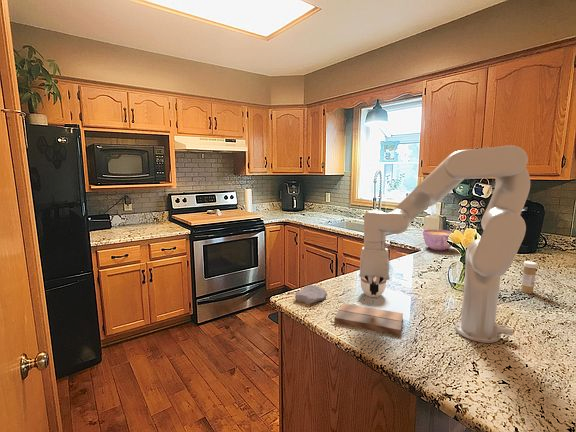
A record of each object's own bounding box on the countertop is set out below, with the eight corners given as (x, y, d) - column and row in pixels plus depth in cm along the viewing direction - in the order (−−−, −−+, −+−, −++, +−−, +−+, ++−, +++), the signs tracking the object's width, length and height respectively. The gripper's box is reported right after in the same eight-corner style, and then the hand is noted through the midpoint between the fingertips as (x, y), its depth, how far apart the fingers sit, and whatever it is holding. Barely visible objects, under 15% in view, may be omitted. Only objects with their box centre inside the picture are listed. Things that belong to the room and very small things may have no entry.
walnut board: (401, 327, 106) (401, 321, 105) (400, 335, 100) (400, 330, 100) (338, 315, 114) (338, 310, 114) (334, 322, 109) (334, 317, 108)
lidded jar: (387, 300, 127) (388, 278, 125) (360, 298, 129) (361, 277, 128) (384, 290, 137) (385, 270, 136) (359, 288, 139) (360, 268, 138)
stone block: (328, 300, 131) (309, 290, 137) (330, 291, 130) (310, 281, 136) (312, 312, 122) (292, 300, 128) (314, 301, 121) (294, 290, 126)
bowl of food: (452, 254, 194) (454, 236, 192) (418, 250, 205) (419, 233, 203) (455, 247, 210) (457, 231, 209) (424, 244, 221) (425, 228, 219)
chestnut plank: (402, 318, 112) (402, 313, 111) (401, 326, 106) (401, 321, 106) (342, 307, 120) (342, 303, 120) (338, 314, 115) (338, 309, 114)
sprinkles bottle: (527, 289, 138) (531, 260, 136) (536, 294, 133) (540, 264, 131) (517, 290, 138) (521, 260, 136) (525, 294, 133) (529, 264, 131)
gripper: (397, 243, 112) (396, 292, 114) (355, 241, 117) (355, 287, 120) (395, 248, 105) (394, 300, 107) (351, 246, 110) (351, 294, 113)
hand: (374, 293), depth 114 cm, fingers closed
